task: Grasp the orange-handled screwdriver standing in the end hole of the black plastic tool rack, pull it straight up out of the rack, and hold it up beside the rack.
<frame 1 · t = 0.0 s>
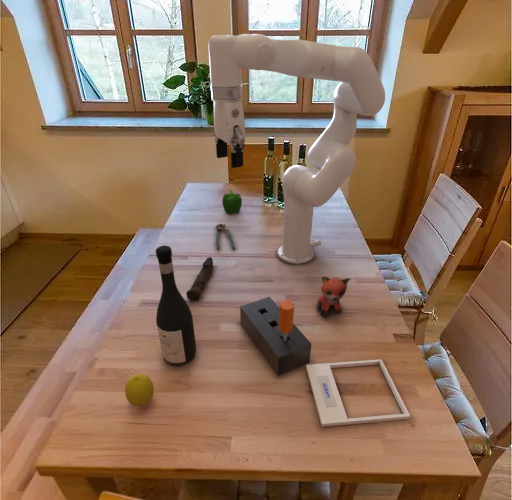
hand: (229, 162, 96), 37 cm above the table, tool pointing down, fingers open, 9 cm apart
lemon: (143, 403, 75), on the table
bell pepper: (232, 212, 154), on the table
wine bottle: (180, 354, 86), on the table
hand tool: (201, 283, 111), on the table
pliers: (225, 237, 135), on the table
photo frame: (353, 391, 77), on the table
stuffed fox: (329, 307, 101), on the table
rack: (272, 341, 89), on the table
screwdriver: (284, 355, 85), resting in rack
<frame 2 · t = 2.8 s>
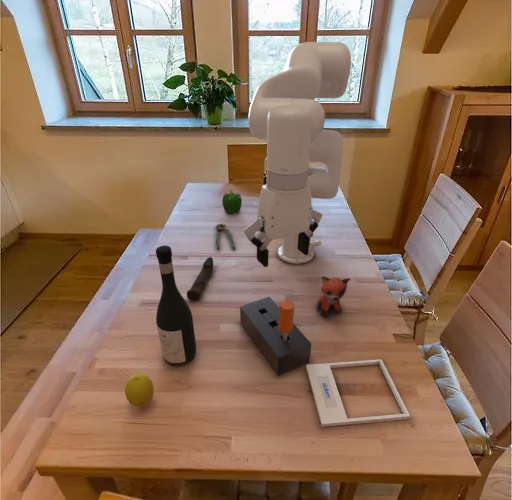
hand: (283, 257, 73), 27 cm above the table, tool pointing down, fingers open, 9 cm apart
nothing on the table moved.
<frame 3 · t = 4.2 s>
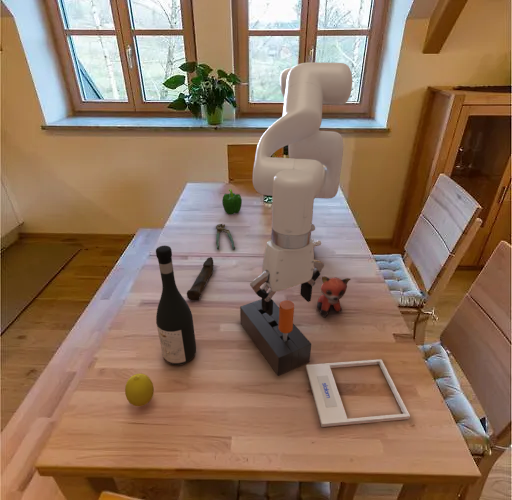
hand: (286, 304, 77), 16 cm above the table, tool pointing down, fingers open, 9 cm apart
nothing on the table moved.
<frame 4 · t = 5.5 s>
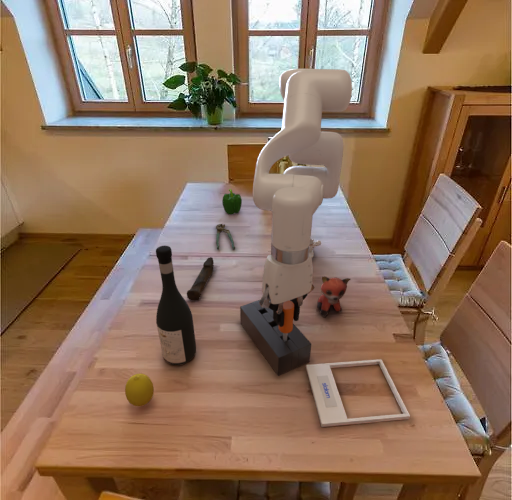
hand: (286, 319, 79), 12 cm above the table, tool pointing down, fingers closed on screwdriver, 3 cm apart
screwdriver: (284, 355, 85), resting in rack, touching gripper
everything else where it was.
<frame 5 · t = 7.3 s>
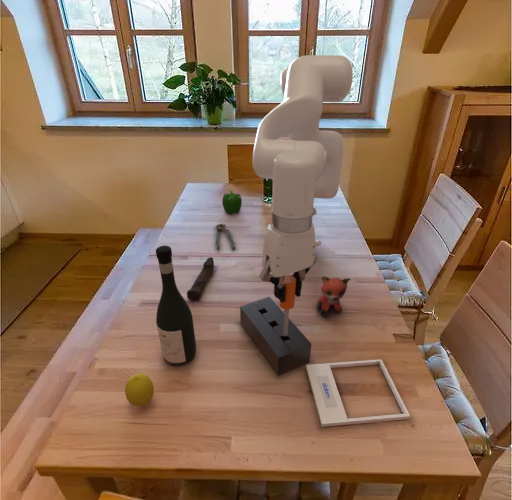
hand: (287, 295, 76), 18 cm above the table, tool pointing down, fingers closed on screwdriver, 3 cm apart
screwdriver: (285, 334, 82), point 7 cm above the table, touching gripper
everything else where it was.
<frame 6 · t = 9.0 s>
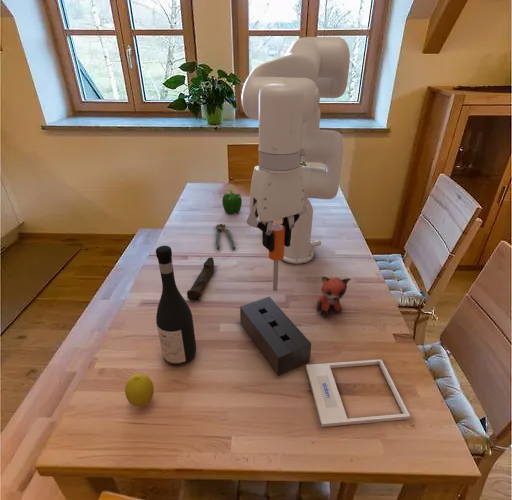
hand: (276, 245, 73), 29 cm above the table, tool pointing down, fingers closed on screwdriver, 3 cm apart
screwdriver: (275, 290, 80), point 17 cm above the table, touching gripper
everything else where it was.
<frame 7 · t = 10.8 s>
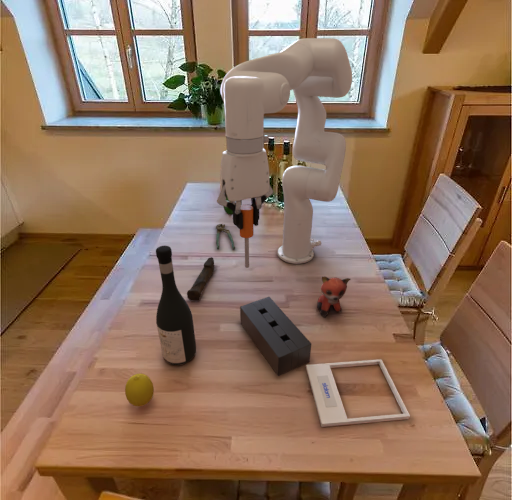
hand: (246, 224, 81), 29 cm above the table, tool pointing down, fingers closed on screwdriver, 3 cm apart
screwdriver: (247, 266, 87), point 17 cm above the table, touching gripper
everything else where it was.
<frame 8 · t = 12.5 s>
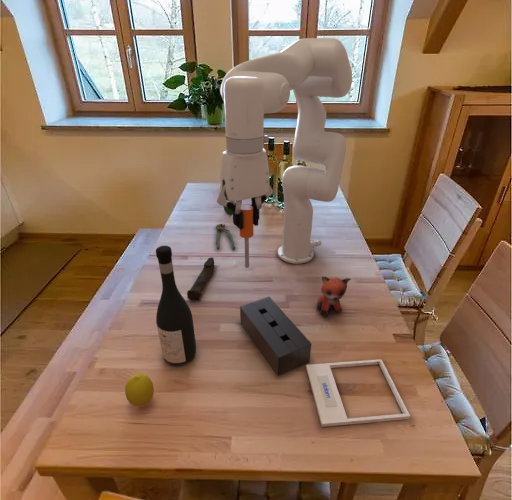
hand: (246, 224, 81), 29 cm above the table, tool pointing down, fingers closed on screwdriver, 3 cm apart
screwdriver: (247, 266, 87), point 17 cm above the table, touching gripper
everything else where it was.
at the end: the gripper is holding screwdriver; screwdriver point 17.4 cm above the table; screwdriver touching gripper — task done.
